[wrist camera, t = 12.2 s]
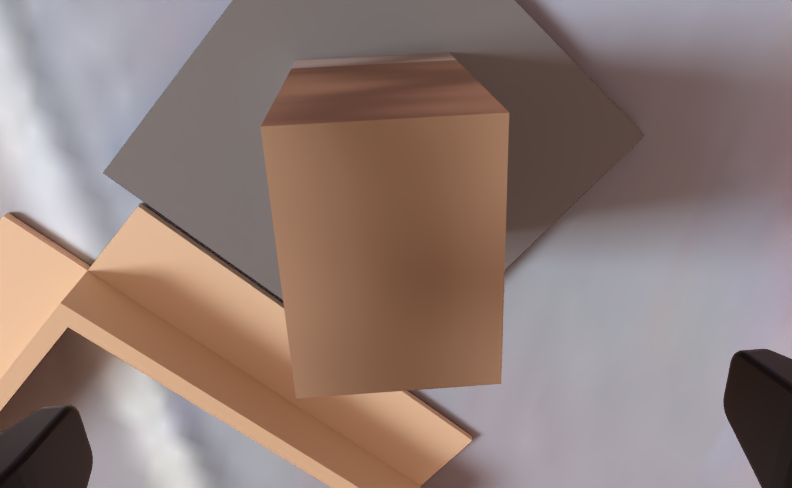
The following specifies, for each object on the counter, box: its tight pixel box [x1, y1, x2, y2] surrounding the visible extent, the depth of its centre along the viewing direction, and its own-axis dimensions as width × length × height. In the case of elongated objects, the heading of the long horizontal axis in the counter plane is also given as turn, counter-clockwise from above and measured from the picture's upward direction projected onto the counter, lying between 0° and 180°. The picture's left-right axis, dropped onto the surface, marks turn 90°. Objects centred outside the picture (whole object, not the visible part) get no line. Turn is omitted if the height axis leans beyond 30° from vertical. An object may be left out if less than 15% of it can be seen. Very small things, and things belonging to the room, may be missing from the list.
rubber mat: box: [103, 0, 644, 300], centre depth 20 cm, size 12×12×1 cm
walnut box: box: [260, 52, 509, 399], centre depth 16 cm, size 4×6×8 cm
